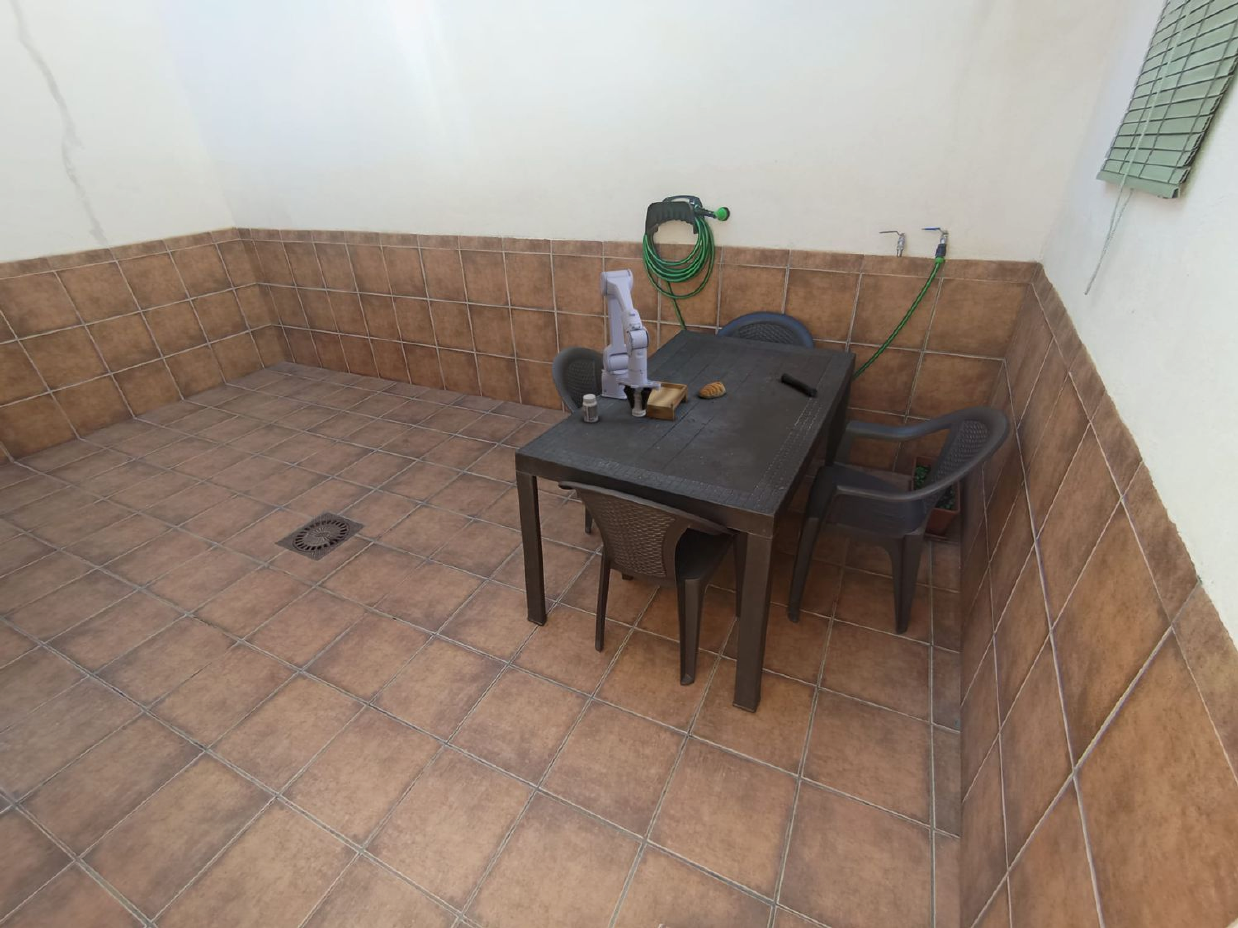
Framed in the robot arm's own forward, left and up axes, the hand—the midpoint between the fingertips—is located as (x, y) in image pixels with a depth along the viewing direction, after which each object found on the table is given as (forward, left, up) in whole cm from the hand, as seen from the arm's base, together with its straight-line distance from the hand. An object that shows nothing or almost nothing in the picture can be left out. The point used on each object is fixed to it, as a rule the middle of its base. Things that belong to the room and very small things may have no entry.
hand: (638, 407), depth 181 cm
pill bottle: (-16, -3, -6) cm, 17 cm away
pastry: (+17, +29, -6) cm, 34 cm away
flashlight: (+45, +43, -6) cm, 63 cm away
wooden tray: (+3, +13, -5) cm, 14 cm away
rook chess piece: (0, 0, -3) cm, 3 cm away
